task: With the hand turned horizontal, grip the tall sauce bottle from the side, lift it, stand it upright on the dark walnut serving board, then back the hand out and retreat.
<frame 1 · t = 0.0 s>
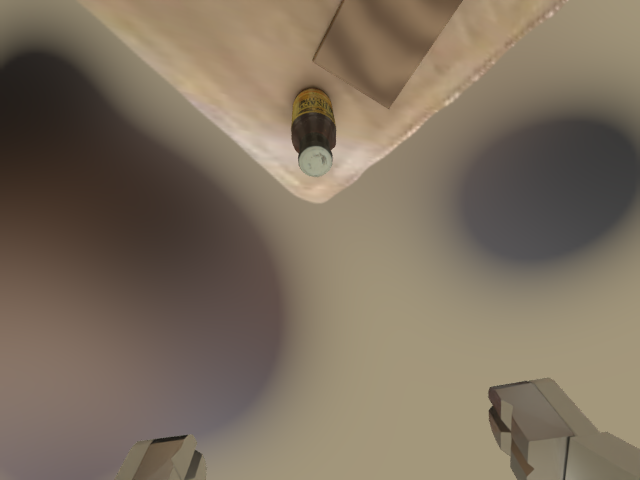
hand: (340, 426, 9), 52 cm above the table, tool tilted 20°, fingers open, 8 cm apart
sauce bottle: (310, 105, 55), on the table
walnut board: (390, 18, 48), on the table
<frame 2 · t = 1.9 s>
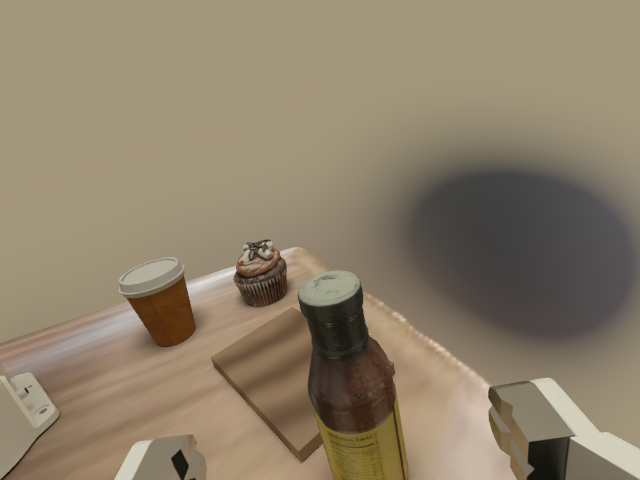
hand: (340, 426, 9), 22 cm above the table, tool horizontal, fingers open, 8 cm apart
cupcake: (266, 295, 62), on the table
disposable coffee cup: (176, 335, 56), on the table
walnut board: (297, 369, 43), on the table
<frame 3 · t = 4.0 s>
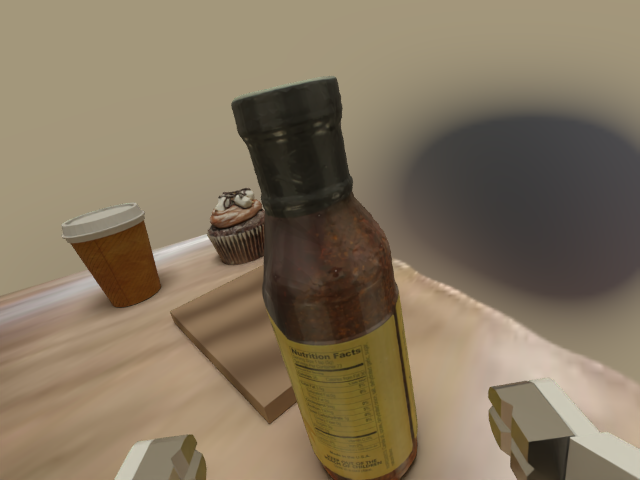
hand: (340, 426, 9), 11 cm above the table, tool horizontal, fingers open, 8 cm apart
cupcake: (247, 254, 54), on the table
sauce bottle: (365, 449, 20), on the table
disposable coffee cup: (138, 295, 47), on the table
walnut board: (273, 321, 34), on the table
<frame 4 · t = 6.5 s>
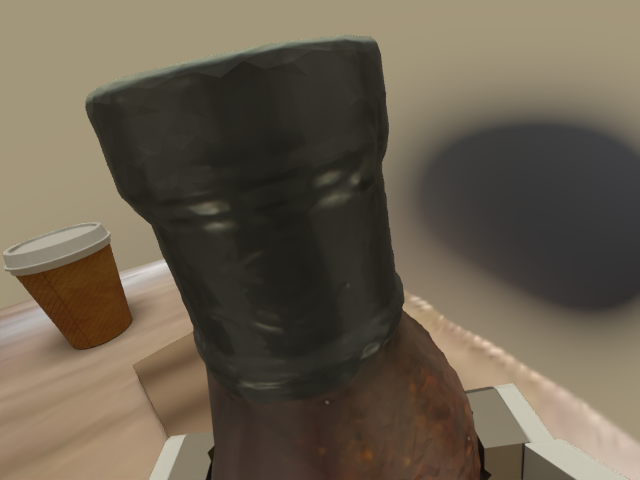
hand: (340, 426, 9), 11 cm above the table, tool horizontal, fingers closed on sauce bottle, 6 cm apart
disposable coffee cup: (104, 332, 39), on the table
walnut board: (261, 384, 27), on the table
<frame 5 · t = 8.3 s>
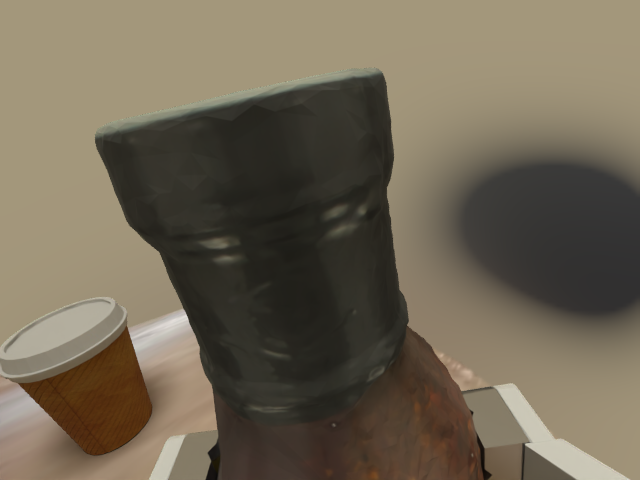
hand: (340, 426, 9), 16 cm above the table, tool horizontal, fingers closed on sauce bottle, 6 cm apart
disposable coffee cup: (119, 426, 33), on the table
when the fingers open (14 cm above the table, at t = 10.4 s): sauce bottle stays where it is, resting on walnut board.
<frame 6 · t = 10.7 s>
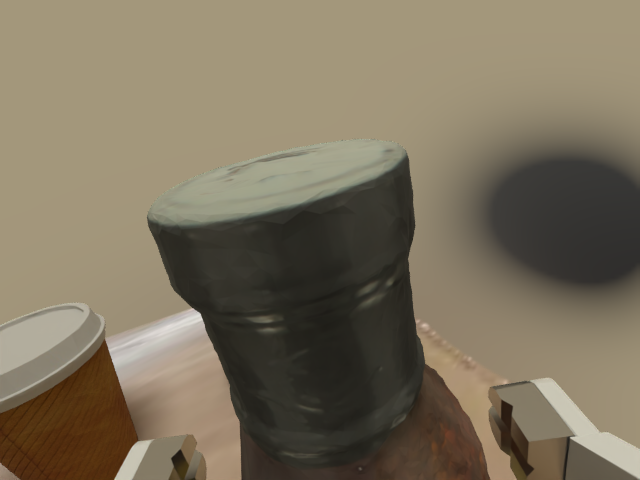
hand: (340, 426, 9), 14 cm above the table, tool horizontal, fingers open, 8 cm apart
disposable coffee cup: (96, 465, 26), on the table
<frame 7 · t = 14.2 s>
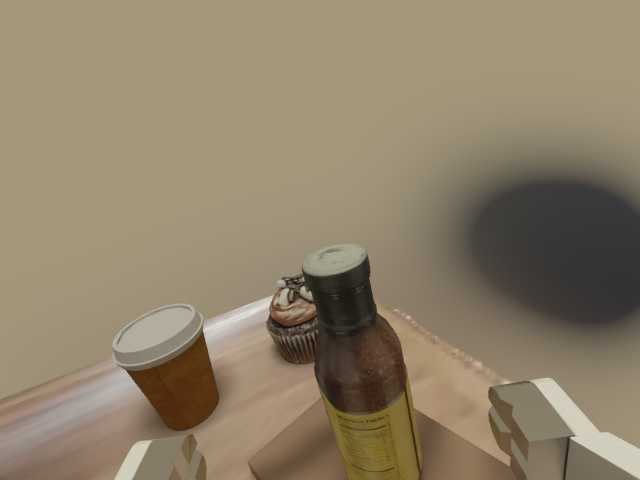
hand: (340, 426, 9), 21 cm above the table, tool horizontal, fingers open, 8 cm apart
cupcake: (309, 345, 47), on the table
sauce bottle: (384, 475, 27), point 1 cm above the table, touching walnut board
disposable coffee cup: (193, 408, 41), on the table
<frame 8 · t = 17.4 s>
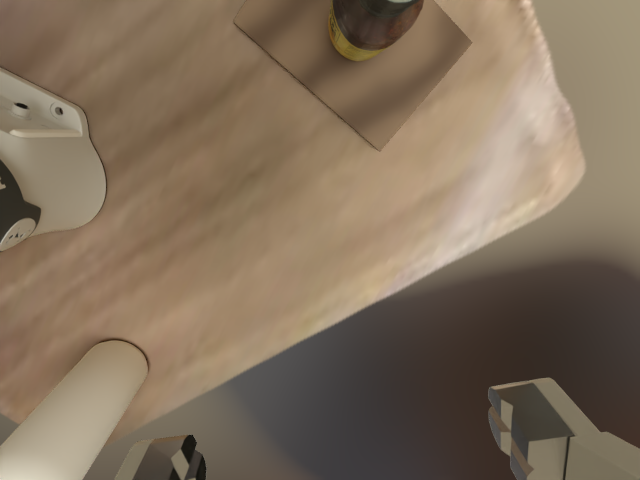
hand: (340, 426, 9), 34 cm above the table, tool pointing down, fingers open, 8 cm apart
sauce bottle: (357, 30, 34), point 1 cm above the table, touching walnut board
walnut board: (352, 35, 35), on the table
alcohol: (121, 360, 51), on the table
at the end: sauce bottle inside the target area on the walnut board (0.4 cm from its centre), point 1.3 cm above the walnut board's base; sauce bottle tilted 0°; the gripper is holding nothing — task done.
